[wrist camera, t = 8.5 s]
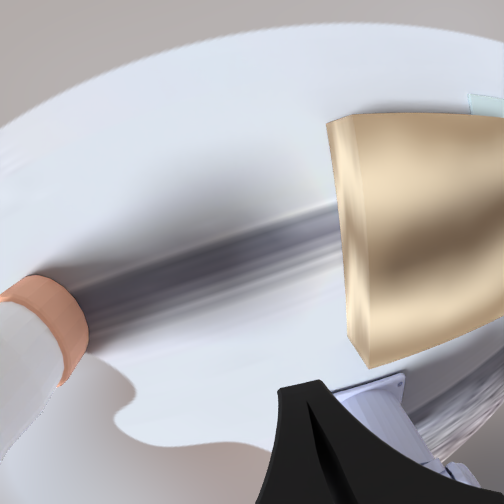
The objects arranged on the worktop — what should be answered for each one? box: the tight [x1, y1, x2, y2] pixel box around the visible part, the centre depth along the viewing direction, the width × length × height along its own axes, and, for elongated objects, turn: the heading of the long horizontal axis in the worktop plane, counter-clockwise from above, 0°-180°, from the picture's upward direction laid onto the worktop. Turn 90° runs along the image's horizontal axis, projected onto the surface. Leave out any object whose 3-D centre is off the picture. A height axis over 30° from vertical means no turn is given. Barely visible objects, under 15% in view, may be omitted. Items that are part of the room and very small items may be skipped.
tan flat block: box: [326, 113, 504, 369], centre depth 17 cm, size 14×12×4 cm
